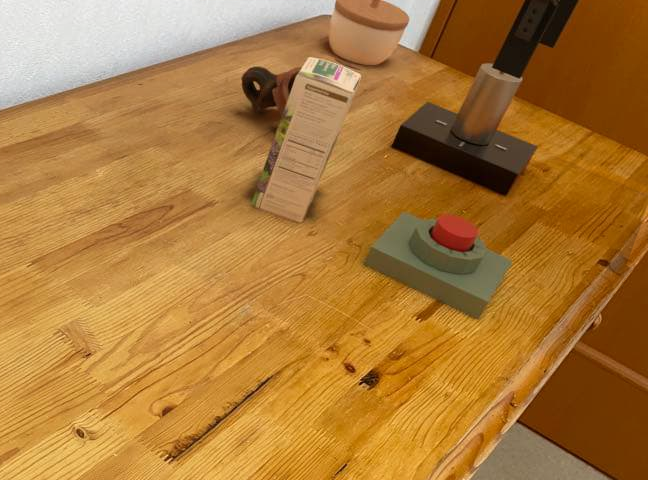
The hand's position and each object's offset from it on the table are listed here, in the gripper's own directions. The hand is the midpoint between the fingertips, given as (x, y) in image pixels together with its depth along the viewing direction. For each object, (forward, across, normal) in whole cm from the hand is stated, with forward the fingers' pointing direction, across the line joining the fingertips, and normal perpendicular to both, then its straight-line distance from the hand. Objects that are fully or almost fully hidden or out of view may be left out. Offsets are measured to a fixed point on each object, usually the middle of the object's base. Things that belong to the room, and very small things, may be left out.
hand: (524, 57), depth 83 cm
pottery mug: (+18, -3, -23) cm, 30 cm away
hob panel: (+18, -17, -3) cm, 25 cm away
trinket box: (+18, -34, -26) cm, 46 cm away
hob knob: (+15, -17, -3) cm, 23 cm away
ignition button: (+14, +13, +3) cm, 20 cm away
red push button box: (+18, +13, +3) cm, 22 cm away
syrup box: (+18, +15, -14) cm, 27 cm away
